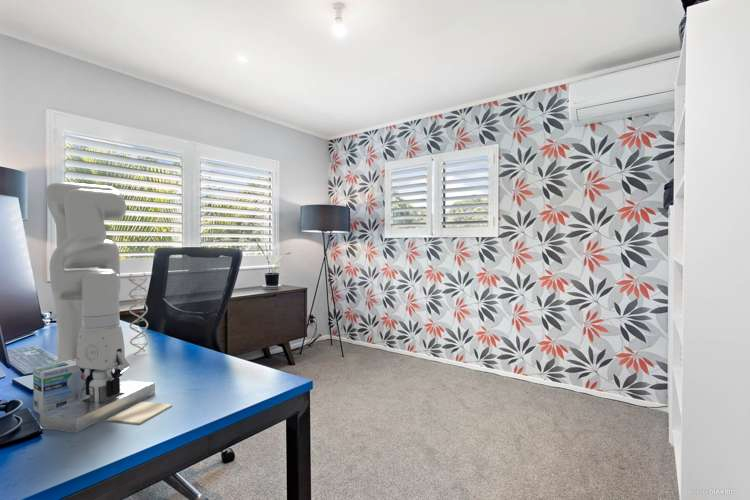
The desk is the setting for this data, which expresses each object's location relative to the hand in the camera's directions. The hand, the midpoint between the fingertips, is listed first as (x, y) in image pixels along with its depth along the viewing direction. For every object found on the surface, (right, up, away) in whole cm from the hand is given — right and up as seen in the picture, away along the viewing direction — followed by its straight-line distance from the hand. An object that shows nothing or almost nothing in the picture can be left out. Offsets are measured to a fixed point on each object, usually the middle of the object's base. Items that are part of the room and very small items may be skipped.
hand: (103, 393), depth 95 cm
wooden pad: (+11, -4, -2) cm, 12 cm away
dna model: (-21, -3, +49) cm, 53 cm away
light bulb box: (-11, -4, +2) cm, 12 cm away
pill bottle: (0, -4, 0) cm, 4 cm away
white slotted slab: (0, -4, 0) cm, 4 cm away
